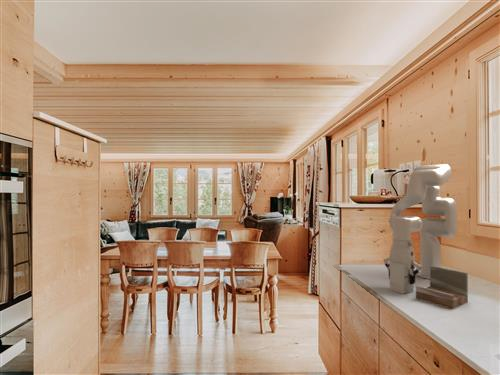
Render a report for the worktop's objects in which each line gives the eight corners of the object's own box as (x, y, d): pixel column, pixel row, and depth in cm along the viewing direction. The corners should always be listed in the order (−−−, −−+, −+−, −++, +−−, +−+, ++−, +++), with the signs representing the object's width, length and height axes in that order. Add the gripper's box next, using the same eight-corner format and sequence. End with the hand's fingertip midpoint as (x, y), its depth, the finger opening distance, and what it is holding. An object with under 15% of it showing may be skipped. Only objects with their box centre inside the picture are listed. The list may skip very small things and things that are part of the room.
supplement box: (403, 294, 135) (403, 265, 135) (389, 289, 141) (389, 262, 141) (414, 291, 138) (414, 263, 138) (399, 287, 145) (399, 260, 145)
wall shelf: (431, 292, 137) (431, 265, 137) (467, 301, 126) (467, 272, 126) (415, 298, 129) (415, 269, 129) (452, 308, 118) (452, 277, 118)
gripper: (425, 245, 135) (425, 284, 135) (388, 240, 149) (388, 275, 149) (416, 247, 131) (416, 287, 130) (379, 241, 145) (379, 277, 145)
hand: (401, 281), depth 140 cm, fingers open, 9 cm apart
